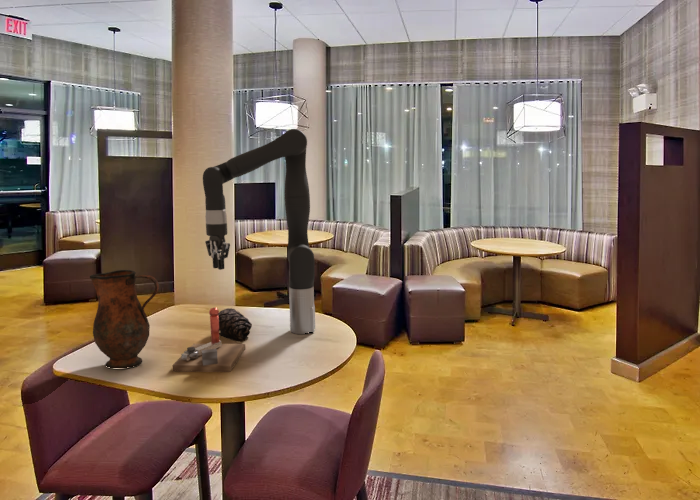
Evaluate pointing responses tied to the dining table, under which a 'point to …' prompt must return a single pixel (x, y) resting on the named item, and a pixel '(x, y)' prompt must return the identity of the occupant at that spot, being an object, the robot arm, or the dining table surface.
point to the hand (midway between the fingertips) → (218, 268)
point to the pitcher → (120, 317)
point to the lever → (214, 337)
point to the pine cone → (233, 325)
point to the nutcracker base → (222, 356)
